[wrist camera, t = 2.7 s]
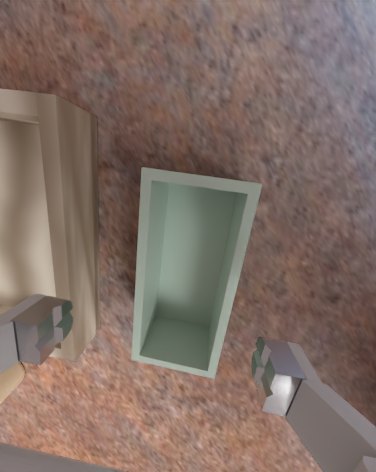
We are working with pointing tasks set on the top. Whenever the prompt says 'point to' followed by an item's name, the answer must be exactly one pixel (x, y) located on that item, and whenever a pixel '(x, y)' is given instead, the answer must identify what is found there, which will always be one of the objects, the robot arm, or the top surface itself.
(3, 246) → the box
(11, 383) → the candle
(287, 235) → the top surface
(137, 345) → the green crate
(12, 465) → the robot arm
